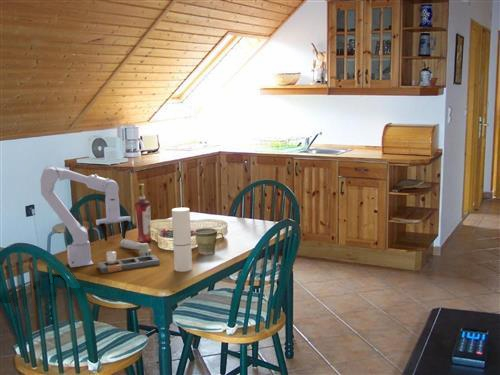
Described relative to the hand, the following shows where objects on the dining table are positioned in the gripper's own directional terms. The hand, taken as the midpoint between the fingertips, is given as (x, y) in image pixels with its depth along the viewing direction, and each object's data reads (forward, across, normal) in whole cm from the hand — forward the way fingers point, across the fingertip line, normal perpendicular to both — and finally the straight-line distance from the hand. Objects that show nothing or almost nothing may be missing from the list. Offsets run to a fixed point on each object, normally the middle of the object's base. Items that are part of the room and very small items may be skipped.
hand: (114, 239), depth 268 cm
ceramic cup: (+10, +40, -9) cm, 42 cm away
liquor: (+10, +19, +24) cm, 32 cm away
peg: (+9, -4, -11) cm, 15 cm away
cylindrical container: (+10, +22, -26) cm, 35 cm away
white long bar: (+10, +11, +9) cm, 17 cm away
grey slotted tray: (+9, +3, -11) cm, 15 cm away
